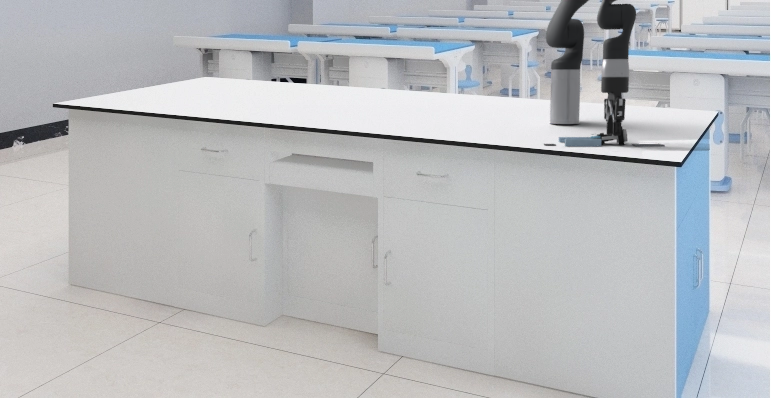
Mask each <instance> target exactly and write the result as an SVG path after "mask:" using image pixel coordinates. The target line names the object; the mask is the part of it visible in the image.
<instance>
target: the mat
mask: <svg viewBox="0 0 771 398" xmlns="http://www.w3.org/2000/svg"><path fill="white" fill-rule="evenodd" d="M631 145H632V146H633V147H665V144H662V143H658V144H639V143H631Z"/></svg>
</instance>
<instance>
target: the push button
mask: <svg viewBox="0 0 771 398" xmlns="http://www.w3.org/2000/svg"><path fill="white" fill-rule="evenodd" d="M627 132H628V131H627V128H623V126H622V125H621V135H620V136H614V135H613V134H607V133H605V134H604V132H600V133H598V134H597V133H596V134H595V133H591V134H590V137H591V139H601V145H602V144H603V145H604V144H606V143H607V142H610V141H611V142H612V141H615V140H616V144H618V145H619V146H620V145H621V146H622V145H623V146H625V143H626V142H628V133H627ZM605 142H606V143H605Z"/></svg>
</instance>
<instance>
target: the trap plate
mask: <svg viewBox="0 0 771 398" xmlns="http://www.w3.org/2000/svg"><path fill="white" fill-rule="evenodd" d="M543 145H544V146H557V144H556V143H543Z"/></svg>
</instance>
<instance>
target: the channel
mask: <svg viewBox="0 0 771 398" xmlns="http://www.w3.org/2000/svg"><path fill="white" fill-rule="evenodd" d="M557 141H558V142H559V143H564V147H602V144H601V139H591V136H559V137H558V140H557Z"/></svg>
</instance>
